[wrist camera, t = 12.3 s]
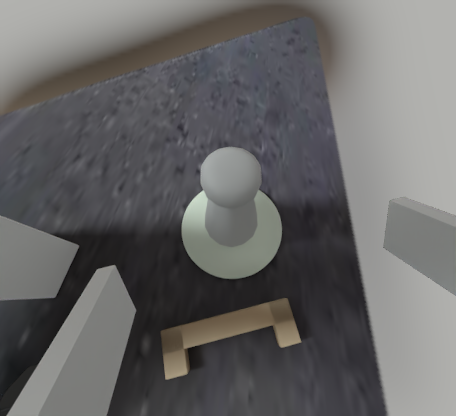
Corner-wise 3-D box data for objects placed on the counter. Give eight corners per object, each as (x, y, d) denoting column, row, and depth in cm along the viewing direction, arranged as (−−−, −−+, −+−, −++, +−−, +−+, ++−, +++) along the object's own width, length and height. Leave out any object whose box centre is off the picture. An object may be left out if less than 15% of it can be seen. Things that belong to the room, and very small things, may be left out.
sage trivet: (162, 243, 26) (160, 242, 26) (216, 169, 30) (216, 167, 30) (250, 301, 24) (250, 301, 23) (297, 212, 28) (298, 210, 27)
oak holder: (296, 339, 22) (301, 342, 21) (169, 374, 21) (165, 380, 20) (284, 298, 24) (287, 298, 22) (164, 329, 23) (160, 331, 21)
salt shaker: (259, 210, 27) (282, 139, 15) (250, 255, 25) (269, 216, 13) (213, 200, 28) (199, 126, 16) (201, 244, 26) (175, 197, 14)
